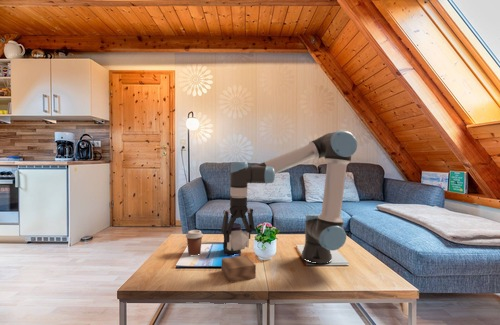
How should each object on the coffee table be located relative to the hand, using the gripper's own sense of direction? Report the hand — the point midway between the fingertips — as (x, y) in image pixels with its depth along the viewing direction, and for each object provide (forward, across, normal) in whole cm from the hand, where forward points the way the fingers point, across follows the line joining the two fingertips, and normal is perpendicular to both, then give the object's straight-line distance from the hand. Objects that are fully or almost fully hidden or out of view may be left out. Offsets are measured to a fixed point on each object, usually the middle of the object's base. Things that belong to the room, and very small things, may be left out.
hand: (238, 247), depth 119 cm
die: (+1, 0, 0) cm, 1 cm away
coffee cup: (+12, +10, -33) cm, 36 cm away
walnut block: (+12, 0, 0) cm, 12 cm away
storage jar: (+12, -9, -26) cm, 30 cm away
